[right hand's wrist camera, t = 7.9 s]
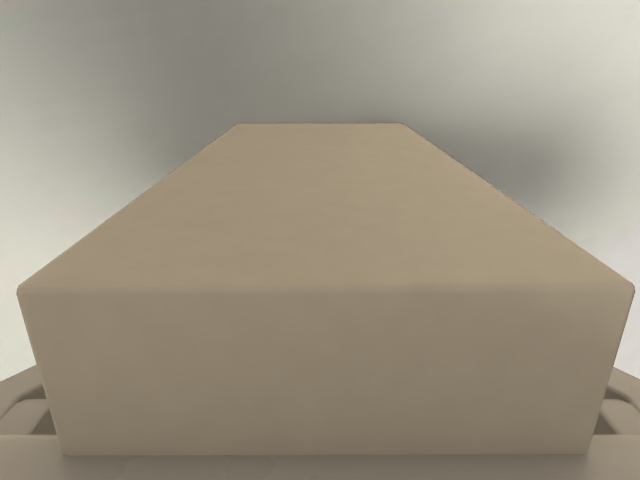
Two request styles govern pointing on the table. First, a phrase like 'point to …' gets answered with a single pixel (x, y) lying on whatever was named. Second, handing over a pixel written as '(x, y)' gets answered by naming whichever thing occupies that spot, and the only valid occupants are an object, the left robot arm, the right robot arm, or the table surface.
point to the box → (324, 309)
